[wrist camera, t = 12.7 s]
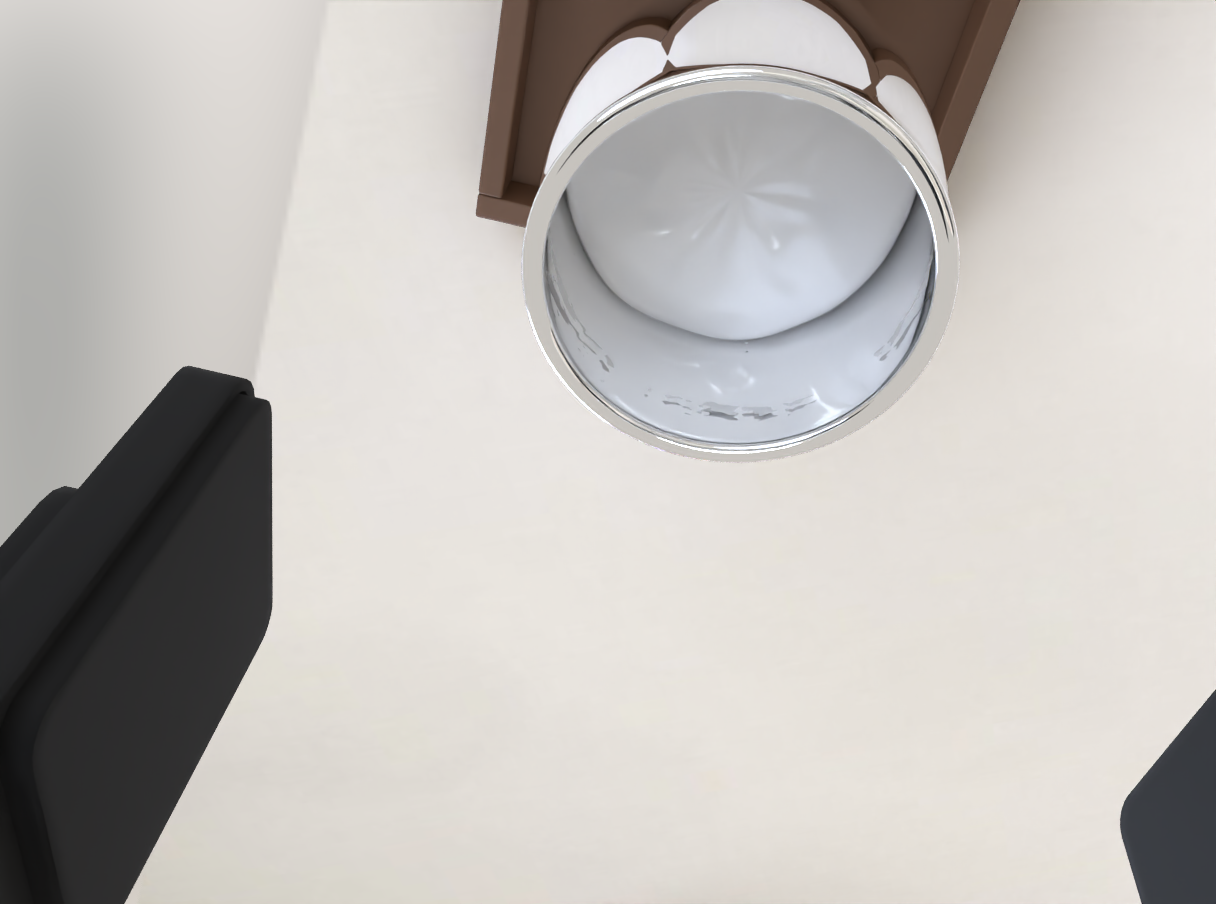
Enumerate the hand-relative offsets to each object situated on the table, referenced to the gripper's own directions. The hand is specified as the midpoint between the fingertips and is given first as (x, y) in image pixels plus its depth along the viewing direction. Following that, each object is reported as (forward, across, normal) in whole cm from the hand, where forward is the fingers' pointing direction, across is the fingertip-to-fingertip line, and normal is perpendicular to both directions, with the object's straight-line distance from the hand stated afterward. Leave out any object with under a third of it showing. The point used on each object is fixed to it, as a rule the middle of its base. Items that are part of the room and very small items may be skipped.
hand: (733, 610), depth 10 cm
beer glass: (+22, 0, +1) cm, 22 cm away
